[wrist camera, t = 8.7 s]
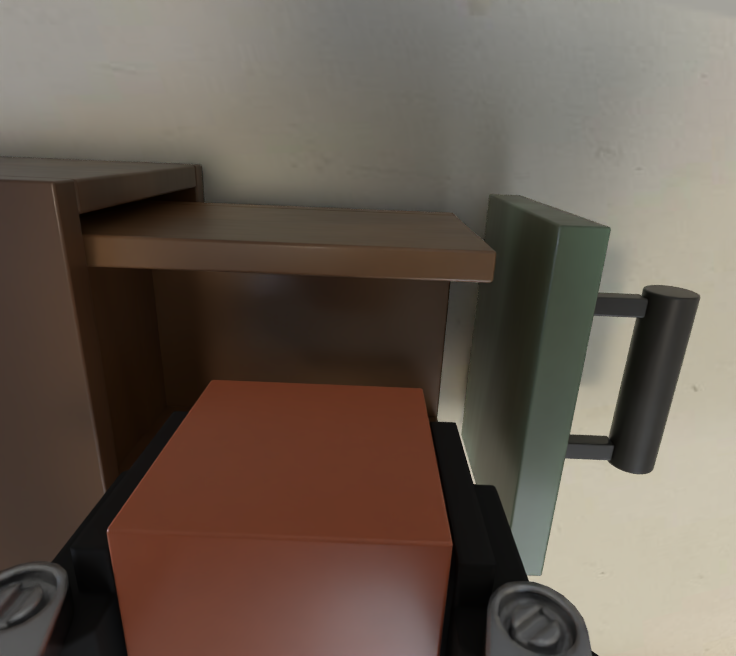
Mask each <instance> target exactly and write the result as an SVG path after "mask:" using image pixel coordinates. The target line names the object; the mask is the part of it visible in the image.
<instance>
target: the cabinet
mask: <svg viewBox="0 0 736 656" xmlns="http://www.w3.org/2000/svg"><path fill="white" fill-rule="evenodd" d="M138 200H153V201H178V202H202V203H204V192H203V178H202V166H201V165H200V164H180V163H155V162H131V161H106V160H82V159H57V158H32V157H8V156H0V571H2V570H4V569H7V568H9V567H12V566H14V565H18V564H22V563H27V562H31V561H49V562H52V561H53V559H54V558H55V557H56V555H57V554H58V553H59V552H60V550H61V549H62V548H63V546H64V545H65V544H66V543H67V541H68V540H69V539H70V537H71V536H72V535H73V534H74V532H75V531H76V530H77V529H78V527H79V526H80V525H81V523H82V522H83V521H84V520H85V518H86V517H87V516H88V514H89V513H90V512H91V511H92V509H93V508H94V507H95V505H96V504H97V503H98V502H99V500H100V499H101V498H102V496H103V495H104V494H105V493H106V491H107V490H108V489H109V487H110V486H111V485H112V484H113V482H114V481H115V480H116V478H117V477H118V476H119V470H118V464H117V457H116V451H115V444H114V438H113V431H112V425H111V418H110V412H109V405H108V399H107V392H106V386H105V379H104V373H103V366H102V360H101V353H100V347H99V341H98V334H97V328H96V321H95V315H94V308H93V302H92V295H91V289H90V282H89V276H88V269H87V263H86V256H85V250H84V243H83V237H82V230H81V224H80V218H79V214H82V213H87V212H91V211H95V210H100V209H104V208H108V207H112V206H117V205H121V204H125V203H129V202H134V201H138Z"/></svg>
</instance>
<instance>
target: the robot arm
mask: <svg viewBox="0 0 736 656" xmlns="http://www.w3.org/2000/svg"><path fill="white" fill-rule="evenodd" d="M188 413H189V412H184V411H174V412H173V413H172V414H171V415H170V417H169V418H168V419H167V421H166V422H165V423H164V424H163V426H162V427H161V428H160V430H159V431H158V432H157V434H156V435H155V436H154V438H153V439H152V440H151V441H150V443H149V444H148V445H147V447H146V448H145V449H144V451H143V452H142V453H141V455H140V456H139V457H138V459H137V460H136V461H135V462H134V464H133V465H132V466H131V468H130V469H129V470H126V471H123V472H122V473H121V474H120V475H119V476H118V477H117V478H116V480H115V481H114V482H113V484H112V485H111V486H110V487H109V489H108V490H107V491H106V493H105V494H104V495H103V496H102V498H101V499H100V500H99V502H98V503H97V504H96V505H95V507H94V508H93V509H92V511H91V512H90V513H89V514H88V516H87V517H86V518H85V520H84V521H83V522H82V523H81V525H80V526H79V527H78V529H77V530H76V531H75V532H74V534H73V535H72V536H71V537H70V539H69V540H68V541H67V543H66V544H65V545H64V546H63V548H62V549H61V550H60V552H59V553H58V554H57V555H56V557H55V558H54V559H53V561H52V562H49V561H31V562H27V563H22V564H18V565H14V566H12V567H9V568H7V569H4V570H2V571H0V656H128V655H127V649H126V644H125V638H124V632H123V626H122V620H121V614H120V608H119V602H118V597H117V591H116V585H115V579H114V573H113V567H112V561H111V556H110V550H109V544H108V538H107V529H108V527H109V526H110V524H111V523H112V521H113V520H114V518H115V517H116V516H117V514H118V513H119V511H120V510H121V508H122V507H123V506H124V504H125V503H126V501H127V500H128V498H129V497H130V496H131V494H132V493H133V491H134V490H135V488H136V487H137V486H138V484H139V483H140V481H141V480H142V479H143V477H144V476H145V474H146V473H147V471H148V470H149V469H150V467H151V466H152V464H153V463H154V461H155V460H156V459H157V457H158V456H159V454H160V453H161V451H162V450H163V449H164V447H165V446H166V444H167V443H168V441H169V440H170V439H171V437H172V436H173V434H174V433H175V431H176V430H177V429H178V427H179V426H180V424H181V423H182V422H183V420H184V419H185V417H186V416H187V414H188ZM429 424H430V429H431V434H432V440H433V445H434V450H435V455H436V460H437V466H438V471H439V476H440V481H441V486H442V491H443V497H444V502H445V507H446V512H447V517H448V523H449V528H450V533H451V538H452V543H453V547H452V555H451V564H450V572H449V581H448V589H447V597H446V606H445V614H444V622H443V631H442V639H441V648H440V656H598V655H597V654H596V653H594V652H593V651H591V646H590V640H589V635H588V630H587V627H586V625H585V622H584V619H583V617H582V616H581V614H580V613H579V611H578V610H577V609H576V607H575V606H574V605H573V604H572V603H571V602H570V601H569V600H568V599H566V598H565V597H564V596H563V595H562V594H560V593H558V592H557V591H555V590H553V589H551V588H550V587H547V586H544V585H541V584H538V583H535V582H529V580H528V577H527V574H526V571H525V569H524V566H523V563H522V560H521V557H520V554H519V552H518V549H517V546H516V543H515V540H514V537H513V534H512V532H511V529H510V526H509V523H508V520H507V517H506V514H505V512H504V509H503V506H502V503H501V500H500V497H499V494H498V492H497V490H496V487H495V486H493V485H479V484H473V481H472V478H471V474H470V471H469V467H468V464H467V460H466V457H465V453H464V450H463V446H462V443H461V439H460V436H459V432H458V429H457V425H456V423H452V422H430V423H429Z"/></svg>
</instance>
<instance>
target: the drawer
mask: <svg viewBox="0 0 736 656" xmlns="http://www.w3.org/2000/svg"><path fill="white" fill-rule="evenodd" d="M79 218H80V224H81V230H82V237H83V243H84V250H85V256H86V263H87V269H88V276H89V282H90V289H91V295H92V302H93V308H94V315H95V321H96V328H97V334H98V341H99V347H100V353H101V360H102V366H103V373H104V379H105V386H106V392H107V399H108V405H109V412H110V418H111V425H112V431H113V438H114V444H115V451H116V457H117V464H118V470H119V475H120V474H121V473H122V472H123V471H126V470H129V469H130V468H131V466H132V465H133V464H134V462H135V461H136V460H137V459H138V457H139V456H140V455H141V453H142V452H143V451H144V449H145V448H146V447H147V445H148V444H149V443H150V441H151V440H152V439H153V438H154V436H155V435H156V434H157V432H158V431H159V430H160V428H161V427H162V426H163V424H164V423H165V422H166V421H167V419H168V418H169V417H170V415H171V414H172V413H173V412H174V411H184V412H190V410H191V409H192V407H193V406H194V404H195V403H196V402H197V400H198V399H199V397H200V396H201V394H202V393H203V392H204V390H205V389H206V387H207V386H208V384H209V383H210V382H211V380H230V381H255V382H279V383H304V384H328V385H352V386H377V387H401V388H421V389H423V393H424V398H425V403H426V409H427V414H428V419H429V423H430V422H438V420H437V414H438V404H439V393H440V383H441V372H442V362H443V352H444V341H445V331H446V321H447V310H448V300H449V289H450V281H456V282H479V288H478V297H477V305H476V314H475V322H474V331H473V339H472V348H471V357H470V365H469V374H468V382H467V391H466V400H465V408H464V417H463V425H462V434H461V435H462V438H463V441H464V445H465V448H466V452H467V455H468V458H469V462H470V465H471V469H472V472H473V475H474V479H475V482H476V484H479V485H493V486H495V487H496V490H497V492H498V494H499V497H500V500H501V503H502V506H503V509H504V512H505V514H506V517H507V520H508V523H509V526H510V529H511V532H512V534H513V537H514V540H515V543H516V546H517V549H518V552H519V554H520V557H521V560H522V563H523V566H524V569H525V571H526V574H527V575H532V576H541V575H542V570H543V565H544V560H545V555H546V550H547V545H548V540H549V535H550V530H551V525H552V520H553V515H554V510H555V505H556V500H557V495H558V490H559V485H560V480H561V475H562V470H563V465H564V460H565V458H569V459H593V460H608V462H609V463H610V464H612V465H613V466H615V467H616V468H618V469H620V470H623V471H625V472H629V473H633V474H647V473H650V472H651V471H652V470H653V469H654V465H655V462H656V458H657V454H658V451H659V447H660V443H661V440H662V436H663V432H664V429H665V425H666V421H667V418H668V414H669V410H670V407H671V403H672V399H673V396H674V392H675V388H676V385H677V381H678V377H679V374H680V370H681V366H682V363H683V359H684V355H685V352H686V348H687V344H688V341H689V337H690V333H691V330H692V326H693V323H694V319H695V315H696V312H697V308H698V304H699V301H700V295H699V294H697V293H695V292H693V291H690V290H687V289H683V288H679V287H673V286H665V285H650V286H646V287H644V289H643V292H642V296H641V295H639V294H619V293H598V291H599V286H600V281H601V276H602V271H603V266H604V261H605V256H606V251H607V246H608V241H609V236H610V231H611V228H610V227H608V226H605V225H602V224H599V223H596V222H594V221H591V220H588V219H585V218H582V217H579V216H577V215H574V214H571V213H568V212H565V211H563V210H560V209H557V208H554V207H551V206H548V205H546V204H543V203H540V202H537V201H534V200H532V199H529V198H526V197H523V196H520V195H500V194H490V195H489V202H488V211H487V219H486V228H485V237H484V241H483V240H482V239H481V238H480V237H479V236H478V235H477V234H476V233H474V232H473V231H472V230H471V229H470V228H469V227H468V226H467V225H466V224H464V223H463V222H462V221H461V220H460V219H459V218H458V217H457V216H456V215H455V214H454V213H448V212H423V211H399V210H374V209H350V208H325V207H301V206H276V205H251V204H227V203H202V202H178V201H153V200H138V201H134V202H129V203H125V204H121V205H117V206H112V207H108V208H104V209H100V210H95V211H91V212H87V213H82V214H79ZM593 316H612V317H636V322H635V326H634V330H633V335H632V339H631V343H630V348H629V352H628V356H627V361H626V365H625V369H624V374H623V378H622V382H621V387H620V391H619V395H618V399H617V404H616V408H615V412H614V417H613V421H612V425H611V430H610V434H609V438H608V437H607V436H593V435H570V430H571V425H572V420H573V415H574V410H575V405H576V400H577V395H578V390H579V385H580V380H581V375H582V370H583V366H584V361H585V356H586V351H587V346H588V341H589V336H590V331H591V326H592V321H593Z"/></svg>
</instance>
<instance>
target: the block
mask: <svg viewBox="0 0 736 656" xmlns="http://www.w3.org/2000/svg"><path fill="white" fill-rule="evenodd" d="M107 538H108V544H109V550H110V556H111V561H112V567H113V573H114V579H115V585H116V591H117V597H118V602H119V608H120V614H121V620H122V626H123V632H124V638H125V644H126V649H127V655H128V656H440V648H441V639H442V631H443V622H444V614H445V606H446V597H447V589H448V581H449V572H450V564H451V555H452V547H453V543H452V538H451V533H450V528H449V523H448V517H447V512H446V507H445V502H444V497H443V491H442V486H441V481H440V476H439V471H438V466H437V460H436V455H435V450H434V445H433V440H432V434H431V429H430V424H429V419H428V414H427V409H426V403H425V398H424V393H423V389H421V388H401V387H377V386H352V385H328V384H304V383H279V382H255V381H230V380H211V382H210V383H209V384H208V386H207V387H206V389H205V390H204V392H203V393H202V394H201V396H200V397H199V399H198V400H197V402H196V403H195V404H194V406H193V407H192V409H191V410H190V412H189V413H188V414H187V416H186V417H185V419H184V420H183V422H182V423H181V424H180V426H179V427H178V429H177V430H176V431H175V433H174V434H173V436H172V437H171V439H170V440H169V441H168V443H167V444H166V446H165V447H164V449H163V450H162V451H161V453H160V454H159V456H158V457H157V459H156V460H155V461H154V463H153V464H152V466H151V467H150V469H149V470H148V471H147V473H146V474H145V476H144V477H143V479H142V480H141V481H140V483H139V484H138V486H137V487H136V488H135V490H134V491H133V493H132V494H131V496H130V497H129V498H128V500H127V501H126V503H125V504H124V506H123V507H122V508H121V510H120V511H119V513H118V514H117V516H116V517H115V518H114V520H113V521H112V523H111V524H110V526H109V527H108V529H107Z"/></svg>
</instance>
